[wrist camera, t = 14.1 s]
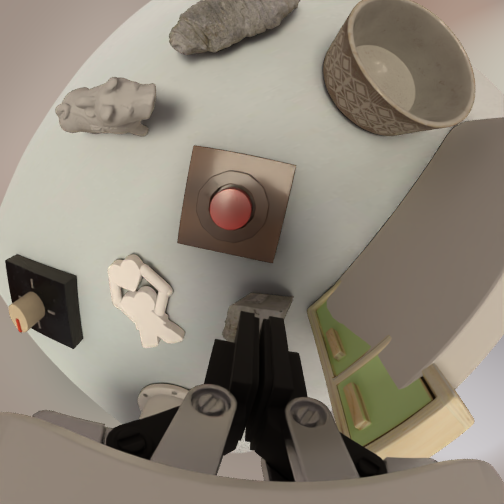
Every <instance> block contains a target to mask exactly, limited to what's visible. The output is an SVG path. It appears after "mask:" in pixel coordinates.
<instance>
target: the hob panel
mask: <svg viewBox="0 0 504 504" xmlns="http://www.w3.org/2000/svg"><path fill="white" fill-rule="evenodd" d="M5 262H6V270H7V277H8V283H9V289H10V294H11V299H12V303H14V302H15V301H16V300H18V299H19V298H21V297H22V296H24V295H25V294H27V293H28V292H34V293H36V294H37V295H38V296H39V298H40V299H41V300H42V302H43V305H44V308H45V315H44V317H43V318H42V319H41V320H39V321H38V322H37V323H36V324H35V325H34V326H32V327H31V328H32V329H34V330H36V331H37V332H39V333H41V334H43V335H45V336H47V337H49V338H51V339H53V340H55V341H57V342H59V343H62V344H64V345H66V346H68V347H70V348H72V349H74V348H75V347H76V346H77V345H78V344H79V343H80V342H81V340H82V339H83V335H82V329H81V321H80V313H79V304H78V293H77V279H76V276H75V275H72V274H69V273H66V272H63V271H60V270H58V269H55V268H52V267H49V266H46V265H44V264H41V263H38V262H36V261H33V260H30V259H28V258H25V257H22V256H20V255H15V256H13V257H11V258H9V259H7V260H5Z"/></svg>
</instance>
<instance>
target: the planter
mask: <svg viewBox="0 0 504 504" xmlns="http://www.w3.org/2000/svg"><path fill="white" fill-rule="evenodd" d="M323 73H324V80H325V84H326V87H327V90H328V92H329V94H330V96H331V98H332V100H333V101H334V103H335V104H336V106H337V107H338V108H339V109H340V111H341V112H342V113H343V114H344V115H345V116H346V117H347V118H348V119H350V120H351V121H352V122H353V123H355V124H356V125H358V126H359V127H361V128H363V129H365V130H367V131H369V132H372V133H375V134H379V135H385V136H396V135H402V134H407V133H413V132H419V131H426V130H432V129H439V128H446V127H451V126H454V125H457V124H458V123H460V122H461V121H463V120H464V119H465V118H466V117H467V115H468V114H469V112H470V111H471V108H472V106H473V103H474V98H475V78H474V73H473V69H472V66H471V63H470V60H469V58H468V56H467V53H466V52H465V50H464V48H463V46H462V44H461V43H460V42H459V40H458V38H457V37H456V36H455V34H454V33H453V32H452V31H451V30H450V28H449V27H448V26H447V25H446V24H445V23H444V22H443V21H442V20H441V19H439V18H438V17H437V16H436V15H435V14H433V13H432V12H431V11H429V10H428V9H426V8H425V7H423V6H421V5H419V4H418V3H415V2H413V1H411V0H362V1H360V2H359V3H358V4H357V5H356V6H355V7H354V8H353V10H352V11H351V13H350V15H349V16H348V18H347V19H346V21H345V23H344V24H343V26H342V28H341V29H340V31H339V33H338V34H337V36H336V38H335V39H334V41H333V43H332V44H331V46H330V48H329V49H328V51H327V53H326V56H325V59H324V65H323Z"/></svg>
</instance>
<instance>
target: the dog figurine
mask: <svg viewBox="0 0 504 504" xmlns="http://www.w3.org/2000/svg"><path fill="white" fill-rule="evenodd" d="M155 100H156V86H155V84H153V83H152V84H139V83H137V82H134V81H130V80H127V79H125V78H117V77H112V78H110V79H109V80H108V82H106V83H105V84H102V85H100V86H97V87H94V88H91V89H88V88H86V87H84V88H78V89H75V90H73V91H71V92H69V93H68V94H67V95H66V96H65V98H64V100H63V102H62V104H60V105H58V106H57V107H56V109H55V112H56V114H57V116H58V117H59V123H60V126H61V128H62V129H63V130H64V131H66V132H70V133H76V132H88V133H92V134H98V133H113V134H125V133H128V132H129V133H132V134H134V135H138V136H146V135H147V134H148V131H149V129H148V127H147V126H143V125H142V124H141V121H142V120H146V119H148V118H150V116H151V114H152V112H153V110H154V106H155Z"/></svg>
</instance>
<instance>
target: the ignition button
mask: <svg viewBox="0 0 504 504" xmlns="http://www.w3.org/2000/svg"><path fill="white" fill-rule="evenodd" d="M251 212H252V202H251V199H250V197H249V196H248V194H247V193H246V192H244V191H243V190H241V189H239V188H235V187H229V188H225V189H223V190H221V191H220V192H218V193H217V194H216V195H215V196H214V197H213V198H212V200H211V203H210V215H211V218H212V220H213V221H214V223H215V224H216V225H218V226H219V227H221V228H223V229H226V230H236V229H239V228H241V227H242V226H244V225H245V224H246V223H247V222H248V220H249V218H250V215H251Z"/></svg>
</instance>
